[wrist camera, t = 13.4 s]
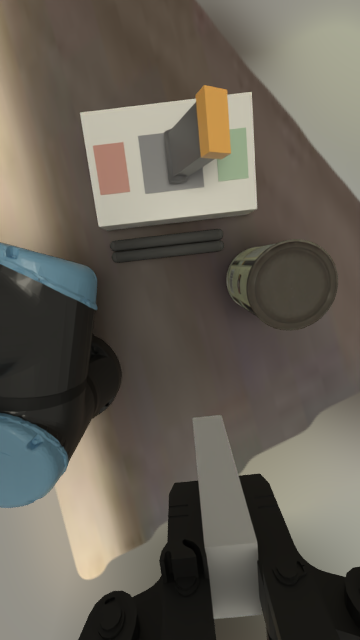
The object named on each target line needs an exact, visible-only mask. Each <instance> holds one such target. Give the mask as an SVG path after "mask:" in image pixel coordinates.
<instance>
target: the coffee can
mask: <svg viewBox="0 0 360 640" xmlns="http://www.w3.org/2000/svg"><path fill="white" fill-rule="evenodd" d="M226 282H227V288H228V291H229V294H230V296H231V297H232V299H233V300H234V301H235V302H236V303H237V304H239V305H240V306H242V307H244V308H245V309H247V310H248V311H250V312H251V313H253V314H254V315H256V316H257V317H258V318H259V319H260V320H261V321H262V322H264V323H265V324H267V325H269V326H271V327H273V328H276V329H280V330H298V329H302V328H305V327H307V326H309V325H311V324H313V323H315V322H316V321H318V320H319V319H320V318H321V317H322V316H323V315H324V314H325V313H326V312H327V311H328V310H329V308H330V306H331V305H332V303H333V301H334V299H335V296H336V293H337V287H338V275H337V270H336V267H335V264H334V262H333V260H332V258H331V257H330V255H329V254H328V253H327V252H326V251H325V250H324V249H323V248H322V247H320V246H319V245H317V244H315V243H313V242H310V241H306V240H300V239H293V240H286V241H282V242H279V243H276V244H272V245H266V246H261V247H253V248H249V249H247V250H245V251H243V252H241V253H240V254H239V255H237V256H236V257H235V258H234V260H233V261H232V263H231V264H230V266H229V269H228V272H227V279H226Z"/></svg>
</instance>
